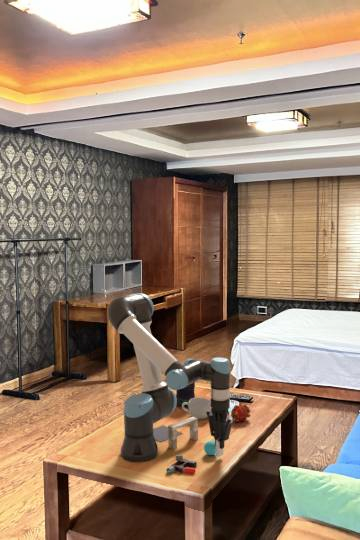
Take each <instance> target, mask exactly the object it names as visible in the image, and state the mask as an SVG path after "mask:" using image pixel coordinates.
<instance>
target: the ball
mask: <svg viewBox="0 0 360 540" xmlns="http://www.w3.org/2000/svg"><path fill="white" fill-rule="evenodd" d="M203 451H204V453H205V454H206V455H208V456H213V455H214V456H215V455H216V446H215V441H213V440H208V441H206V442H205V444H204V447H203Z"/></svg>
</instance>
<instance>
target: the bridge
mask: <svg viewBox="0 0 360 540" xmlns="http://www.w3.org/2000/svg"><path fill="white" fill-rule="evenodd" d="M188 425H189V439H191V440H193V441H196V440H198V439H199V419H198V418H195V417H192V416H191V417H188V418H186V419H182V420H180V421H177V422H174V423H172V424H169V425H168V426H167V427H168V439H167V441H168V442H167V443H168V448H170V449H172V450H175V449H177V447H178V436H177V431H178V430H179V429H181V428H184V427H186V426H188Z"/></svg>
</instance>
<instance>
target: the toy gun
mask: <svg viewBox="0 0 360 540" xmlns="http://www.w3.org/2000/svg"><path fill="white" fill-rule="evenodd" d="M196 467H198V466H197V461H193V460H189V459H187V458H184V456H183V454H182V455H181V454H176V455H175V462H174V463H172V464H171V466H168V467H167V468H166V473H167V474H168V473H170V475H171V474H173V473H175V472H177V473H180V474H183V473H185V474H190V475H193V474H196Z"/></svg>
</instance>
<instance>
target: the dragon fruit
mask: <svg viewBox="0 0 360 540" xmlns="http://www.w3.org/2000/svg"><path fill="white" fill-rule="evenodd" d="M250 413H251V410H250V407H249V406H248V405H247V404H246V403H244V404H241V403H238V405H237V404H235V405H234V406H233V408H232V409H231V413H230V417H231V418H234V421H233V423H240V422H241V421H242V422H243V423H244V422H246V421H247V418H250V417H251V414H250Z"/></svg>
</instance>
